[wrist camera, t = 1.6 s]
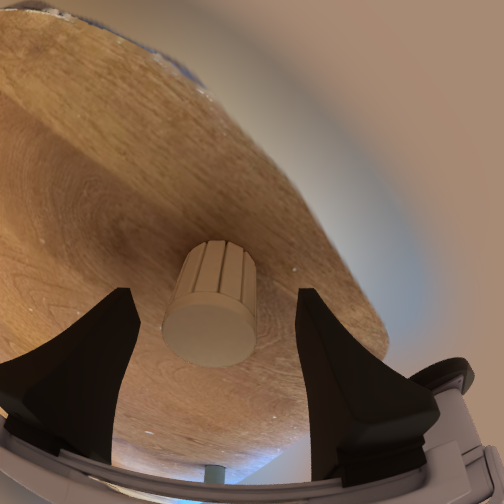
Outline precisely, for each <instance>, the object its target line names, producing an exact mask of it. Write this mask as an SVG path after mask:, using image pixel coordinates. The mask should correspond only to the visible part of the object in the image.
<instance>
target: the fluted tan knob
mask: <svg viewBox="0 0 504 504" xmlns="http://www.w3.org/2000/svg"><path fill="white" fill-rule="evenodd" d="M162 335H163V339H164V341H165V343H166V345H167V346H168V347H169V349H170V350H171V351H172V352H173V353H174V354H176V355H177V356H178V357H180V358H181V359H183V360H185V361H187V362H189V363H192V364H195V365H198V366H202V367H209V368H222V367H229V366H233V365H236V364H238V363H240V362H242V361H244V360H245V359H247V358H248V357H249V356H250V355H251V354H252V352H253V351H254V349H255V347H256V343H257V292H256V266H255V262H254V261H253V259H252V258H251V257H250V255H249V254H248V252H247V251H245V252H243V248H241V247H239V246H237V245H235V244H233V243H231V242H228V243H227V245H226V243H225V241H224V240H222V241H208V244H206V243H205V242H203V243H202V244H200V245H198V246H196V247H195V248H193V249H192V251H191V252H189V253H188V255H187V257H186V259H185V261H184V263H183V266H182V269H181V271H180V274H179V277H178V279H177V282H176V285H175V287H174V290H173V293H172V296H171V298H170V301H169V304H168V307H167V310H166V312H165V317H164V320H163V323H162Z"/></svg>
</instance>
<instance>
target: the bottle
mask: <svg viewBox="0 0 504 504" xmlns="http://www.w3.org/2000/svg"><path fill="white" fill-rule="evenodd" d="M224 481H225V468H224V467H221V466H216V465H208V466H206V467H205V476H204V483H213V484H224Z"/></svg>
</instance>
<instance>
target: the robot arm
mask: <svg viewBox="0 0 504 504" xmlns="http://www.w3.org/2000/svg"><path fill="white" fill-rule="evenodd" d="M140 324H141V321H140V318H139V315H138V312H137V310H136V307H135V303H134V300H133V297H132V294H131V291H130V288H116V289H115V290H114V291H112V292H111V293H110V294H109V295H107V296H106V297H105V298H104V299H103V300H101V301H100V302H99V303H98V304H97V305H96V306H94V307H93V308H92V309H91V310H90V311H89V312H87V313H86V314H85V315H84V316H83V317H81V318H80V319H79V320H78V321H76V322H75V323H74V324H73V325H71V326H70V327H69V328H67V329H66V330H65V331H63V332H62V333H61V334H59V335H58V336H56V337H55V338H53V339H52V340H50V341H48V342H47V343H45V344H43V345H41V346H40V347H38V348H36V349H34V350H32V351H30V352H28V353H26V354H24V355H22V356H20V357H17V358H15V359H13V360H10V361H7V362H4V363H1V364H0V407H1V408H2V409H3V410H4V411H5V412H6V413H7V414H9V415H8V417H7V419H6V418H4V417H3V416H2V415H0V470H1V471H2V472H4V473H5V474H6V475H8V476H9V477H11V478H12V479H14V480H15V481H17V482H18V483H20V484H21V485H23V486H24V487H25V488H27V489H29V490H30V491H32V492H33V493H35V494H37V495H38V496H40V497H42V498H44V499H46V500H47V501H49V502H51V503H53V504H161V503H156V502H151V501H146V500H142V499H138V498H134V497H130V496H128V495H126V494H123V493H121V492H119V491H117V490H115V489H113V488H111V487H110V486H108V485H107V484H105V483H102V482H100V481H97V480H95V479H98V480H101V481H104V482H108V483H111V484H114V485H118V486H121V487H125V488H129V489H133V490H137V491H141V492H145V493H150V494H155V495H160V496H166V497H171V498H178V499H185V500H192V501H201V502H212V503H227V504H228V503H229V504H278V503H280V504H479V503H481V502H483V501H485V500H486V499H488V498H490V497H491V499H490V500H489V501H488V502H487V503H486V504H504V467H503V464H502V461H501V459H500V456H499V453H498V451H497V449H496V447H494V446H490V445H488V446H487V447H485V446H482V444H481V441H480V438H479V435H478V433H477V430H476V428H475V425H474V423H473V421H472V418H471V416H470V413H469V411H468V408H467V406H466V404H465V402H464V399H463V397H462V395H461V389H462V383H463V375H462V374H460V375H458V376H456V377H454V378H453V379H451V380H449V381H448V382H446V383H444V384H442V385H441V386H439V387H437V388H435V389H433V390H431V391H430V390H428V389H426V388H424V387H422V386H420V385H418V384H416V383H414V382H412V381H411V380H409V379H407V378H405V377H404V376H402V375H401V374H399V373H397V372H396V371H394V370H393V369H391V368H390V367H388V366H387V365H385V364H384V363H383V362H382V361H380V360H379V359H377V358H376V357H375V356H374V355H372V354H371V353H370V352H369V351H368V350H367V349H365V348H364V347H363V346H362V345H361V344H360V343H359V342H358V341H357V340H356V339H355V338H354V337H353V336H352V335H351V334H350V333H349V332H348V331H347V330H346V328H345V327H344V326H343V325H342V324H341V323H340V322H339V320H338V319H337V318H336V317H335V316H334V314H333V313H332V312H331V311H330V309H329V308H328V307H327V305H326V304H325V303H324V301H323V300H322V299H321V297H320V296H319V294H318V293H317V292H316V290H315V289H314V288H299V291H298V301H297V310H296V319H295V332H296V342H297V349H298V354H299V358H300V363H301V368H302V372H303V377H304V382H305V386H306V392H307V398H308V409H309V422H310V438H311V469H312V470H311V472H312V473H311V482H304V483H292V484H274V485H230V484H213V483H201V482H192V481H183V480H176V479H170V478H164V477H158V476H153V475H148V474H143V473H138V472H134V471H130V470H125V469H122V468H118V467H114V466H111V451H112V433H113V423H114V416H115V410H116V404H117V399H118V394H119V390H120V386H121V383H122V380H123V377H124V374H125V371H126V369H127V366H128V363H129V360H130V358H131V355H132V352H133V350H134V347H135V344H136V341H137V337H138V333H139V329H140ZM90 477H92V478H95V479H92V478H90Z"/></svg>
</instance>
